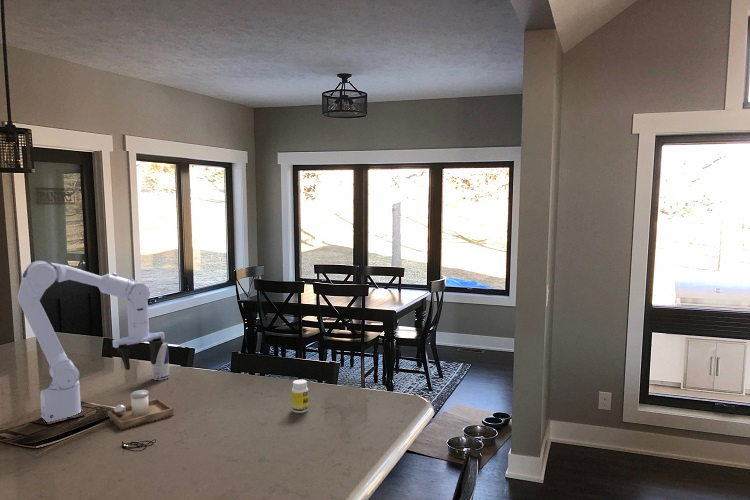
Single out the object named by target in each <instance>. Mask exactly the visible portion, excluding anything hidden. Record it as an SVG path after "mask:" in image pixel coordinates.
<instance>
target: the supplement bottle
mask: <svg viewBox="0 0 750 500" xmlns="http://www.w3.org/2000/svg"><path fill="white" fill-rule="evenodd" d="M307 381H308V380H306V379H296V380H293V381H292V388H291V411H292V412H293V413H295V414H296V413H297V414H300V413H306V412H308V410H309V408H310V407H309V388H308V382H307Z"/></svg>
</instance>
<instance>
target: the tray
mask: <svg viewBox="0 0 750 500" xmlns="http://www.w3.org/2000/svg"><path fill="white" fill-rule="evenodd" d="M148 402H149V413H148V414H147V415H145V416H140V417H134V416H132V407H131V404H130V405H127V406H125V407H126V412H125V413H124V414H123V415H121V416H118V415H116V414H115V413H114V409H110V410H107V417H108V416H109V417H110V419H111V420H112V421H113V422H112V421H111V420H110V419H109V420H110V421H111V422H112V423H113V424H114V425H115V426H116V425H117V426H118V427H119V429H120V431H123V430H122V429H124V430H126V429H125V428H127V429H130V428H129V427H131V428H133V427H132V426H134V427H137V426H136V425H138V426H140V425H139V424H142V425H144V424H143V423H145V424H147V423H146V422H149V423H152V422H155V421H154V420H156V421H159V420H162V419H161V418H163V419H165V418H164V417H166V418H169V417H168V416H170V417H173V416H172V415H174V414H175V411H174V408H173V407H172V406H170V404H169V405H168V404H167V403H166V402H164V401H163V400H161V399H160V398H154V399H150V400H149V399H148ZM158 419H159V420H158ZM151 421H152V422H151ZM117 426H116V427H117ZM118 427H117V428H118Z"/></svg>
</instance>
